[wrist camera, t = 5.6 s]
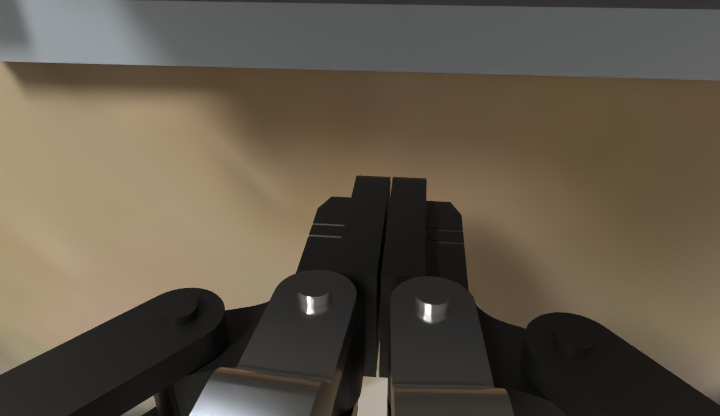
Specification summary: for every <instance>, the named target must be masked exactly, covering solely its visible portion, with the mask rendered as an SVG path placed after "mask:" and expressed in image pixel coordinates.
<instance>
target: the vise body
mask: <svg viewBox="0 0 720 416" xmlns="http://www.w3.org/2000/svg"><path fill="white" fill-rule="evenodd" d="M0 61H8V62H45V63H83V64H120V65H157V66H195V67H232V68H270V69H307V70H344V71H382V72H419V73H456V74H494V75H531V76H569V77H606V78H643V79H681V80H718V81H720V0H0Z"/></svg>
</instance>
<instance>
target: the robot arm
mask: <svg viewBox="0 0 720 416" xmlns="http://www.w3.org/2000/svg"><path fill="white" fill-rule="evenodd" d="M390 184H391V183H390V177H377V176H357V177H356V181H355V185H354V189H353V193H352V197H351V198H349V197H331V198H329V199H328V200H327V201H326V202H325V203H324V204H322V205H321V206H320V207H319V208H318V210H317V213H316V216H315V218H314V221H313V225H312V227H311V230H310V233H309V237H308V239H307V242H306V245H305V248H304V251H303V254H302V257H301V260H300V263H299V266H298V269H297V272H296V274H293V275H291V276H289V277H287V278H286V279H284V280H283V281H282V282H281V283H280V284H279V285H278V286H277V288H276V289H275V291H274V293H273V295H272V297H271V299H270V301H268V302H266V303H263V304H260V305H256V306H251V307H245V308H238V309H232V310H226V311H225V307H224V303H223V301H222V300H221V298H220V297H219V296H218V295H216V294H215V293H213V292H211V291H208V290H205V289H200V288H183V289H177V290H172V291H169V292H166V293H163V294H161V295H159V296H157V297H155V298H153V299H151V300H149V301H147V302H145V303H143V304H141V305H139V306H137V307H135V308H133V309H131V310H129V311H127V312H125V313H123V314H121V315H119V316H117V317H115V318H113V319H111V320H109V321H107V322H105V323H103V324H101V325H99V326H97V327H95V328H93V329H91V330H89V331H87V332H85V333H83V334H81V335H79V336H77V337H75V338H73V339H71V340H69V341H67V342H65V343H63V344H61V345H59V346H57V347H55V348H53V349H51V350H49V351H47V352H45V353H43V354H41V355H39V356H37V357H35V358H33V359H31V360H29V361H27V362H25V363H23V364H21V365H19V366H17V367H15V368H13V369H11V370H9V371H7V372H5V373H3V374H1V375H0V416H121V415H122V414H124V413H125V412H127V411H129V410H130V409H132V408H134V407H135V406H137V405H138V404H140V403H142V402H143V401H145V400H147V399H148V398H150V397H151V396H153V395H154V399H155V402H156V407H154V408H153V409H151V410H150V411H148V412H147V413H145V414H143V415H142V416H357V411H358V399H359V397H360V393H361V388H362V380H363V376H369V377H376V369H377V360H378V350H379V341H380V365H379V377H385V378H388V397H387V416H720V405H718V404H717V403H715V402H714V401H712V400H711V399H709V398H708V397H706V396H705V395H704V394H702V393H701V392H699V391H698V390H696V389H695V388H693V387H692V386H690V385H689V384H687V383H686V382H684V381H683V380H682V379H680V378H679V377H677V376H676V375H674V374H673V373H671V372H670V371H668V370H667V369H665V368H664V367H662V366H661V365H660V364H658V363H657V362H655V361H654V360H652V359H651V358H649V357H648V356H646V355H645V354H643V353H642V352H640V351H639V350H638V349H636V348H635V347H633V346H632V345H630V344H629V343H627V342H626V341H624V340H623V339H621V338H620V337H618V336H617V335H616V334H614V333H613V332H611V331H610V330H608V329H607V328H605V327H604V326H602V325H601V324H599V323H597V322H595V321H593V320H591V319H589V318H586V317H583V316H580V315H576V314H571V313H559V312H557V313H548V314H544V315H541V316H539V317H537V318H535V319H533V320H532V321H531V322H530V323H529V324H528V326H527V328H526V329H525V328H521V327H518V326H515V325H511V324H508V323H505V322H502V321H499V320H497V319H495V318H493V317H491V316H489V315H488V314H486V313H485V312H483V311H482V310H481V309H479V308H478V307H477V305H476V304H475V300H474V298H473V296H472V295H471V293H470V292H469V290H468V281H467V270H466V259H465V248H464V238H463V227H462V216H461V214H460V213H459V212H458V211H457V210H456V208H455V207H454V206H453V205H452V204H451V202H436V201H426V179H425V178H402V177H393V181H392V189H391V197H390Z"/></svg>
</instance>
